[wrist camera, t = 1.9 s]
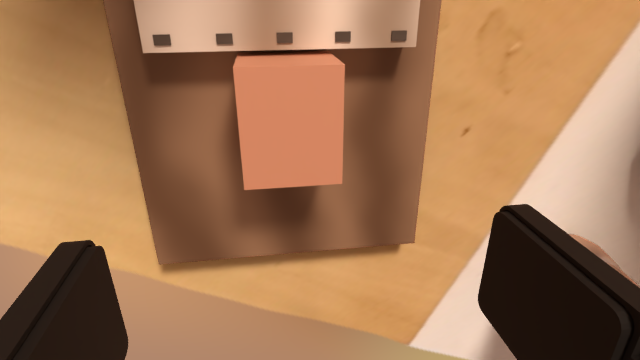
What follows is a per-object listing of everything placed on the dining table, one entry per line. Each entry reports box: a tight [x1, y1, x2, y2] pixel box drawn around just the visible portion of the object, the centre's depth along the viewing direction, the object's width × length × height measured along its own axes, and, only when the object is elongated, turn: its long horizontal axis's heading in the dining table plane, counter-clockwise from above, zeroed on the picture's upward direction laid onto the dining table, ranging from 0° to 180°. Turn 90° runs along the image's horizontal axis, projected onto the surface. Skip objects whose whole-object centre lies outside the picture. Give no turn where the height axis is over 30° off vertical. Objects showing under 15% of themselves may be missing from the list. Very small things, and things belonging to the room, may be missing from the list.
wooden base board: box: [103, 0, 441, 264], centre depth 23 cm, size 18×24×4 cm
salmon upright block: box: [233, 50, 345, 190], centre depth 22 cm, size 5×6×5 cm
